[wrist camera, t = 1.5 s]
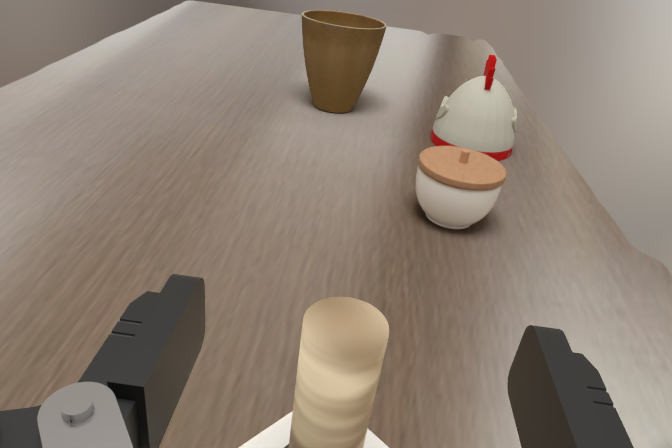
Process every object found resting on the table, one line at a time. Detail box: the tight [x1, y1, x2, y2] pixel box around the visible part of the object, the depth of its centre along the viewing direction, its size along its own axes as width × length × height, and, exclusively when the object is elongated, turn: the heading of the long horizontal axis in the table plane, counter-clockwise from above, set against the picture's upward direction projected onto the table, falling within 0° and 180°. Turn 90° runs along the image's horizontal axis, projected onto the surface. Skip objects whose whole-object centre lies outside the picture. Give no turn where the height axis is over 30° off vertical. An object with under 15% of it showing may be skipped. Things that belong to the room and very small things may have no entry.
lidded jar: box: [416, 146, 507, 229], centre depth 67 cm, size 11×11×9 cm
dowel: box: [288, 297, 389, 448], centre depth 31 cm, size 4×4×15 cm
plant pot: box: [302, 10, 387, 113], centre depth 97 cm, size 15×15×16 cm
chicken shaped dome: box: [431, 55, 517, 161], centre depth 89 cm, size 14×14×15 cm
